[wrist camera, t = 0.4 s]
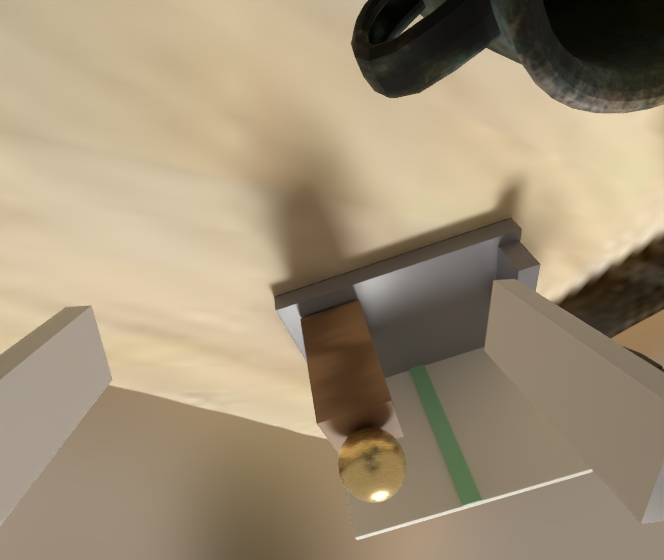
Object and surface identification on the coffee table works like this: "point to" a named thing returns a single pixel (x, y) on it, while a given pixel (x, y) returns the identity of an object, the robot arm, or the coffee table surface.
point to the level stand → (445, 376)
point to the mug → (520, 46)
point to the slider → (354, 402)
